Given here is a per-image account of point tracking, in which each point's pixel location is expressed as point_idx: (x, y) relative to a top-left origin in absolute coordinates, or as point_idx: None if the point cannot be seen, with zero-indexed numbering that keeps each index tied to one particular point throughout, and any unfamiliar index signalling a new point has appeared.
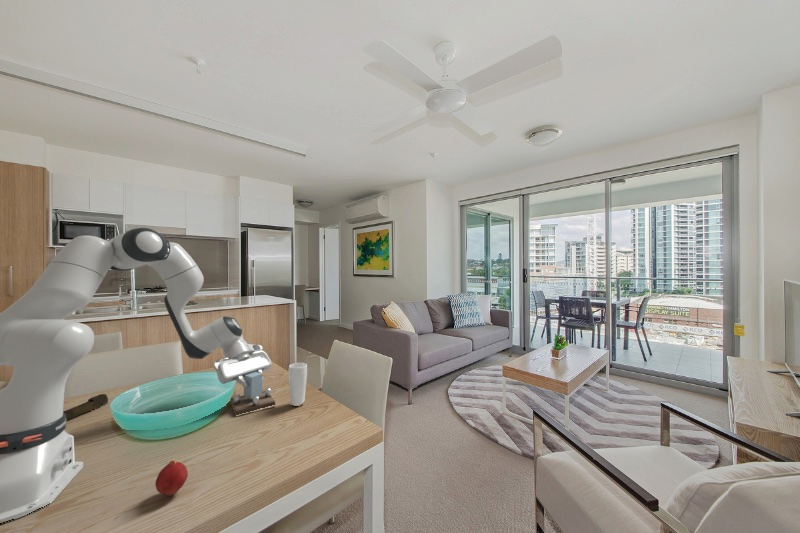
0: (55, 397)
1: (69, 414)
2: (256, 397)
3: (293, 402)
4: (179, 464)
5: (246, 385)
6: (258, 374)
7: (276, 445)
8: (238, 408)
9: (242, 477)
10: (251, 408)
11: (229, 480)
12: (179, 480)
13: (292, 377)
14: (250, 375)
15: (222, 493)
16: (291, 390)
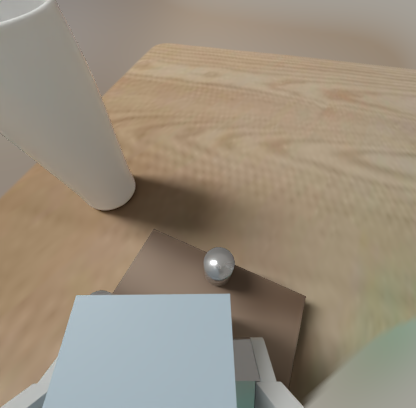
0: None
1: None
2: (222, 252)
3: (131, 175)
4: None
5: (257, 337)
6: (116, 315)
7: (285, 103)
8: (287, 315)
9: (363, 87)
10: (242, 269)
11: (382, 93)
12: None
13: (91, 77)
14: (195, 390)
15: (395, 83)
16: (117, 146)
